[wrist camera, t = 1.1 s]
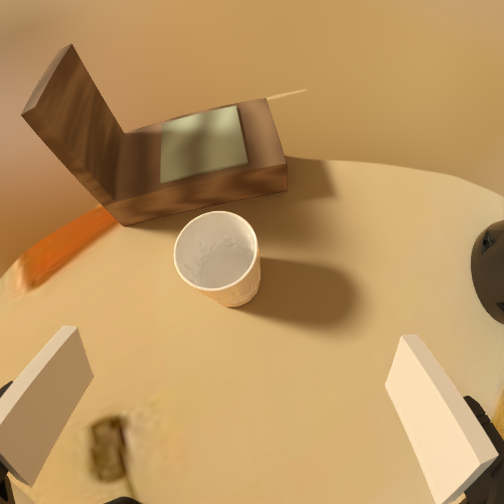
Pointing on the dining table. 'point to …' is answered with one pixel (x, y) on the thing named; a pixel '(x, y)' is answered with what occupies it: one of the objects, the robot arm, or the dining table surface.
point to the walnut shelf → (154, 148)
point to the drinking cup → (123, 501)
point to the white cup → (219, 257)
